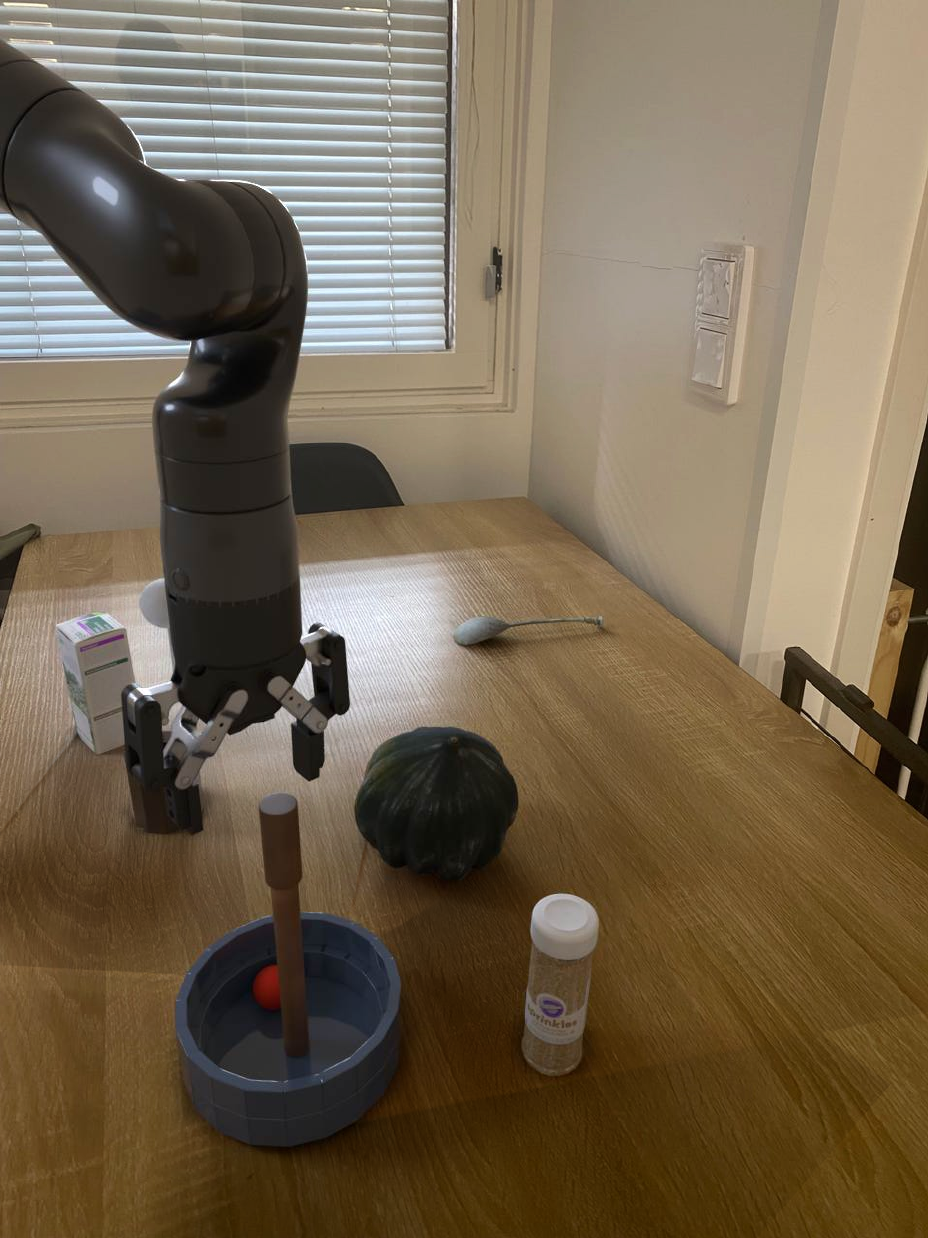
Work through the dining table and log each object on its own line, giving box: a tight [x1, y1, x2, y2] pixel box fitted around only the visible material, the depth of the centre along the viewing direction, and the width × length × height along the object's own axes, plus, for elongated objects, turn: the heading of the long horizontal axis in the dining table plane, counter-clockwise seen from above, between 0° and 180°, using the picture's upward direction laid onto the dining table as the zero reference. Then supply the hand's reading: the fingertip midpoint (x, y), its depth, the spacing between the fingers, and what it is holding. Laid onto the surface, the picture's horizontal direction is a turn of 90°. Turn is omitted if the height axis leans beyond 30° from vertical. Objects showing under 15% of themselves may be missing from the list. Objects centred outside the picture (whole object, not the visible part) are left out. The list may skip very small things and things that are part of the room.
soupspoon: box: [452, 615, 604, 646], centre depth 129 cm, size 22×3×7 cm
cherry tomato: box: [253, 965, 281, 1010], centre depth 69 cm, size 3×3×3 cm
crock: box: [122, 730, 205, 834], centre depth 89 cm, size 7×7×8 cm
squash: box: [353, 726, 520, 883], centre depth 84 cm, size 14×15×15 cm
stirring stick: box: [258, 792, 310, 1058], centre depth 62 cm, size 2×2×22 cm
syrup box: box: [54, 610, 137, 756], centre depth 100 cm, size 6×6×14 cm
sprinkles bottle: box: [521, 893, 600, 1077], centre depth 64 cm, size 5×5×13 cm
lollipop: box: [138, 578, 175, 673], centre depth 109 cm, size 6×6×15 cm
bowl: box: [174, 911, 403, 1148], centre depth 66 cm, size 16×16×6 cm
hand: (250, 799), depth 59 cm, fingers open, 8 cm apart
